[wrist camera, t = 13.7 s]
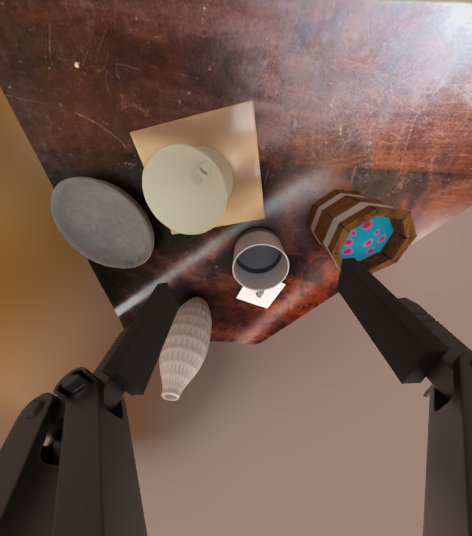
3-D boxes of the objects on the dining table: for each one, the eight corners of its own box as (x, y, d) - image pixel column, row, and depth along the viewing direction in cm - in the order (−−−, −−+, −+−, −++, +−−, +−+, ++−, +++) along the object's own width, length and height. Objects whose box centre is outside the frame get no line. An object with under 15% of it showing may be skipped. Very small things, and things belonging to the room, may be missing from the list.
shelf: (161, 137, 35) (129, 132, 25) (250, 115, 33) (253, 99, 23) (188, 215, 44) (172, 234, 34) (259, 202, 41) (264, 218, 31)
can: (244, 179, 28) (245, 194, 18) (209, 220, 32) (193, 251, 22) (198, 129, 25) (168, 114, 15) (165, 181, 28) (123, 197, 18)
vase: (188, 317, 65) (158, 410, 42) (173, 293, 58) (127, 387, 35) (220, 312, 63) (207, 407, 40) (208, 286, 56) (184, 381, 33)
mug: (304, 198, 40) (331, 218, 28) (368, 180, 38) (429, 194, 25) (309, 266, 51) (330, 303, 38) (359, 255, 48) (399, 291, 36)
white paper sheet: (285, 284, 55) (286, 287, 54) (267, 308, 61) (268, 311, 60) (251, 271, 53) (251, 274, 51) (236, 298, 59) (236, 301, 58)
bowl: (178, 211, 43) (166, 222, 37) (148, 267, 53) (135, 283, 46) (87, 151, 37) (53, 151, 30) (72, 227, 46) (44, 239, 40)
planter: (246, 217, 43) (248, 234, 35) (290, 237, 46) (301, 257, 37) (227, 257, 50) (223, 279, 41) (265, 273, 53) (270, 297, 44)
